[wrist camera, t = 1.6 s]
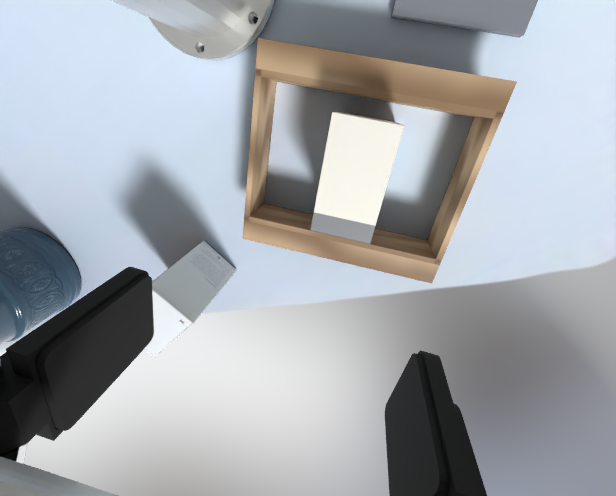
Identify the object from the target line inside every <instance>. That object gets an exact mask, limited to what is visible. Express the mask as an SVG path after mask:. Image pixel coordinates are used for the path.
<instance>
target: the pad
mask: <svg viewBox="0 0 616 496" xmlns="http://www.w3.org/2000/svg"><path fill="white" fill-rule="evenodd" d="M537 1H538V0H396V1H395V5H394V10H393V14H392V18H398V19H405V20H411V21H418V22H424V23H430V24H437V25H443V26H450V27H456V28H463V29H469V30H475V31H482V32H488V33H495V34H501V35H508V36H514V37H521V36H523V35H524V33H525V31H526V29H527V26H528V24H529V21H530V19H531V16H532V14H533V11H534V9H535V6H536V4H537Z"/></svg>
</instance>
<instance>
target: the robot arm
mask: <svg viewBox="0 0 616 496" xmlns="http://www.w3.org/2000/svg"><path fill="white" fill-rule="evenodd" d="M110 1H113V2H115V3H117V4H120V5H122V6H124V7H127V8H129V9H131V10H134V11H136V12H138V13H141V14H143V15H145V16H148V17H149V19H150V20H151V22H152V24H153V25H154V26H155V28H156V29H157V30H158V31H159V33H160V34H161V35H162V36H163V37H164V38H165V39H166V40H167V41H168V42H169V43H171V44H172V45H173V46H174V47H176V48H177V49H179V50H181V51H182V52H184V53H186V54H189V55H191V56H194V57H197V58H201V59H205V60H222V59H226V58H230V57H233V56H235V55H237V54H239V53H241V52H242V51H244V50H245V49H246V48H247V47H248V46H250V45H251V44H252V43H253V42H254V41H255V39H256V38H257V37H258V36H259V34H260V33H261V32H262V30H263V28H264V26H265V24H266V23H267V21H268V19H269V16H270V13H271V10H272V7H273V4H274V1H275V0H110ZM255 18H258V21H257V23H256V24H255V23H254V20H255ZM203 47H204V48H205V49H204V52H203ZM153 335H154V320H153V296H152V278H151V277H149V275H148V273H147V272H146V271H144V270H140V269H137V268H133V267H128V268H126V269H124V270H123V271H121V272H120V273H118V274H117V275H115V276H114V277H112V278H111V279H109V280H108V281H106V282H105V283H103V284H102V285H100V286H99V287H98V288H96V289H95V290H93V291H92V292H90V293H89V294H87V295H86V296H84V297H83V298H81V299H80V300H78V301H77V302H75V303H74V304H72V305H71V306H69V307H68V308H66V309H65V310H63V311H62V312H60V313H59V314H57V315H56V316H54V317H53V318H51V319H50V320H48V321H47V322H45V323H44V324H42V325H41V326H39V327H38V328H36V329H35V330H33V331H32V332H30V333H29V334H28V335H26V336H25V337H23V338H22V339H20V340H19V341H17V342H16V343H14V344H13V345H11V346H10V347H8V348H7V349H6V351H7V352H6V353H5V354H3V355H2V356H0V496H118V495H114V494H112V493H109V492H106V491H103V490H100V489H97V488H94V487H91V486H88V485H85V484H82V483H79V482H76V481H73V480H70V479H67V478H64V477H61V476H58V475H56V474H52V473H50V472H47V471H44V470H41V469H38V468H35V467H31V466H28V465H25V464H23V463H24V458H25V453H26V448H27V443H28V442H29V441H30V440H31V439H32V438H33V437H34V436H35V435H36V434H37V435H39V436H42V437H45V438H48V439H50V440H53V441H54V440H55V439H56V438H57V437H58V436H59V435H60V434H61V433H62V431H63V430H64V431H66V430H68V429H70V428H71V427H72V426H73V425H74V424H75V423H76V422H77V421H78V420H79V419H80V418H81V417H82V415H84V413H85V412H86V411H87V410H88V409H89V408H90V407H91V406H92V405H93V404H94V403H95V402H96V401H97V399H98V398H99V397H100V396H101V395H102V394H103V393H104V392H105V391H106V390H107V388H108V387H109V386H110V385H111V384H112V383H113V382H114V381H115V380H116V379H117V378H118V377H119V376H120V374H121V373H122V372H123V371H124V370H125V369H126V368H127V367H128V366H129V365H130V364H131V362H132V361H133V360H134V359H135V358H136V357H137V356H138V355H139V354H140V353H141V352H142V350H143V349H144V348H145V347H146V346H147V345H148V344H149V343H150V342H151V340H152V338H153ZM385 426H386V443H387V458H388V476H389V493H390V496H487V494H486V491H485V488H484V485H483V481H482V478H481V475H480V472H479V468H478V465H477V462H476V459H475V455H474V453H473V449H472V446H471V443H470V439H469V436H468V433H467V430H466V427H465V423H464V420H463V417H462V414H461V411H460V409H459V407H458V406H457V405H456V404H453V400H452V397H451V394H450V390H449V387H448V384H447V380H446V376H445V373H444V370H443V366H442V363H441V360H440V357H439V356H438V355H434V354H431V353H427V352H424V351H420V352H419V353H418V354H415V353H414V354H412V356H411V358H410V360H409V361H408V364H407V365H406V367H405V369H404V371H403V373H402V375H401V377H400V379H399V381H398V383H397V385H396V387H395V388H394V390H393V392H392V394H391V396H390V398H389V400H388V402H387V404H386V408H385Z"/></svg>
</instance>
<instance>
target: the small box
mask: <svg viewBox="0 0 616 496" xmlns="http://www.w3.org/2000/svg"><path fill="white" fill-rule="evenodd" d="M235 272H236V269H235V268H234V267H233V266H232V265H230V264H229V263H228V262H227V261H226V260H225V259H224V258H223V257H222V256H220V255H219V254H218V253H217V252H216V251H215V250H214V249H213V248H212V247H211V246H209V245H208V244H207V243H206V242H205V241H202V242H201V243H200V244H198V245H197V246H196V247H195V248H193V249H192V250H191V251H190V252H188V253H187V254H186V255H185V256H183V257H182V258H181V259H180V260H178V261H177V262H176V263H175V264H173V265H172V266H171V267H170V268H168V269H167V270H166V271H165V272H164V273H162V274H161V275H160V276H159V277H157V278H156V279H155V280H153V281H152V296H153V320H154V335H153V338H152V340H151V342H150V343H149V344H148V345H147V346H146V347H145V348H144V350H145V351H146V352H147V353H149V354H150V355H151V356H152V357H154V358H156V357H157V356H158V355H159V354H160V353H161V352H162V351H163V350H164V349H165V348H166V347H167V346H168V345H169V344H170V343H172V342H173V341H174V340H175V339H176V338H177V337H178V336H179V335H180V334H182V333H183V332H184V331H185V330H186V329H187V328H189V327H190V326H191V325H192V324H194V322H195V321H196V320H197V319H198V317H199V316H200V315H201V314H202V313H203V311H204V310H205V309H206V308H207V307H208V305H209V304H210V303H211V302H212V301H213V299H214V298H215V297H216V296H217V294H218V293H219V292H220V291H221V290H222V288H223V287H224V286H225V285H226V283H227V282H228V281H229V280H230V278H231V277H232V276H233V275H234V273H235Z"/></svg>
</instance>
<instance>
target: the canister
mask: <svg viewBox="0 0 616 496" xmlns="http://www.w3.org/2000/svg"><path fill="white" fill-rule="evenodd" d="M80 290H81V278H80V274H79V271H78V269H77V267H76V265H75V263H74V261H73V260H72V258H71V257H70V255H69V254H68V253H67V252H66V251H65V249H64V248H63V247H62V246H60V245H59V244H58V243H57V242H56V241H55V240H53V239H52V238H50V237H49V236H47V235H45V234H43V233H41V232H39V231H37V230H33V229H29V228H16V229H8V230H4V231H1V232H0V344H2V343H4V342H10V341H14V340H16V339H18V338H20V337H21V336H22V335H23V334H24V332H26V331H28V330H29V329H31V328H32V327H34V326H35V325H37V324H38V323H40V322H42V321H43V320H45V319H46V318H48V317H49V316H51V315H52V314H54V313H56V312H59V311H61V310H63V309H64V308H65V307H67V306H69V305H70V304H71V303H72V301H73V300H74V299H76V298H77V296H78V295H79V293H80Z"/></svg>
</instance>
